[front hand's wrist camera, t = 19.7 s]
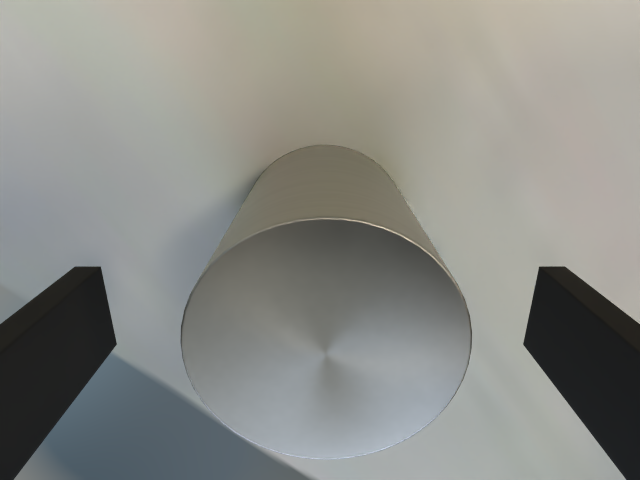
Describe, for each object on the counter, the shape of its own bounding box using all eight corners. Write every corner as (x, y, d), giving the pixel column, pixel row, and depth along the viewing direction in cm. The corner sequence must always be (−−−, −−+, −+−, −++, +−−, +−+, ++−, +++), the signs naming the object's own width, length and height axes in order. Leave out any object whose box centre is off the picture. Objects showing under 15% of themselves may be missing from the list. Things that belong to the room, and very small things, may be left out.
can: (436, 206, 18) (535, 324, 10) (341, 319, 20) (355, 495, 12) (303, 109, 17) (283, 150, 8) (216, 242, 19) (130, 382, 10)
